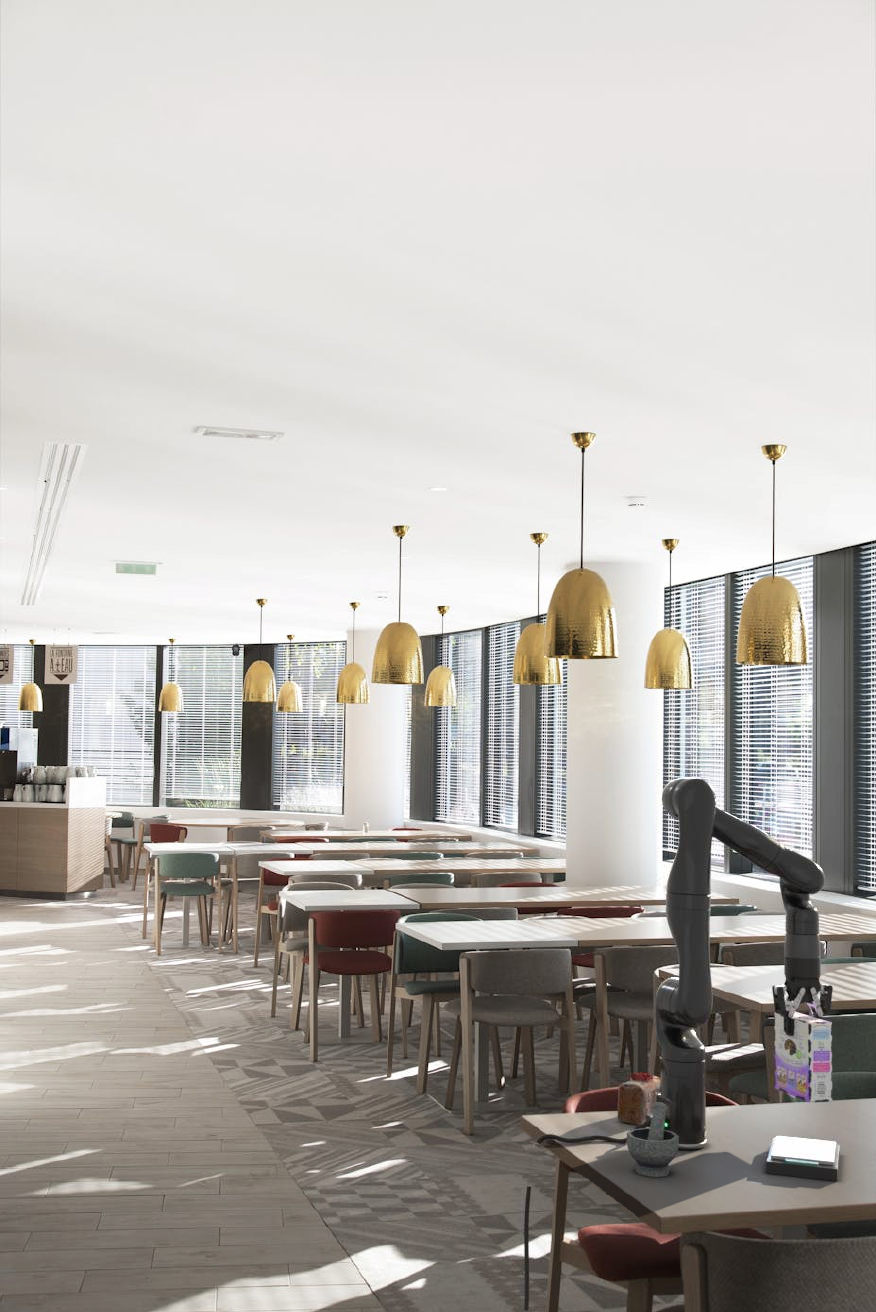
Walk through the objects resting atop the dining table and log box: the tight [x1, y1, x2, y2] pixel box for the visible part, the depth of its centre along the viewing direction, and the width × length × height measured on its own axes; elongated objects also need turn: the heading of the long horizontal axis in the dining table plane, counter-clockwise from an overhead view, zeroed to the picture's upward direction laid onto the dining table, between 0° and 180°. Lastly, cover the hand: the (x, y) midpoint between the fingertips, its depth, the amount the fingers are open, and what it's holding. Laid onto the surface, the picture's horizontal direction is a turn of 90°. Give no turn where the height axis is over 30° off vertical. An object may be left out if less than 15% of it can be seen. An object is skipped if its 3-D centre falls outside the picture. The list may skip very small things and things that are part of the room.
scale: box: [765, 1135, 841, 1182], centre depth 247 cm, size 18×13×3 cm
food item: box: [617, 1072, 660, 1126], centre depth 281 cm, size 14×8×10 cm, turn 149°
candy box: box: [773, 1011, 833, 1103], centre depth 269 cm, size 14×6×16 cm, turn 17°
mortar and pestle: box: [626, 1102, 679, 1178], centre depth 242 cm, size 11×9×12 cm
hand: (802, 1034), depth 269 cm, fingers closed on candy box, 6 cm apart
